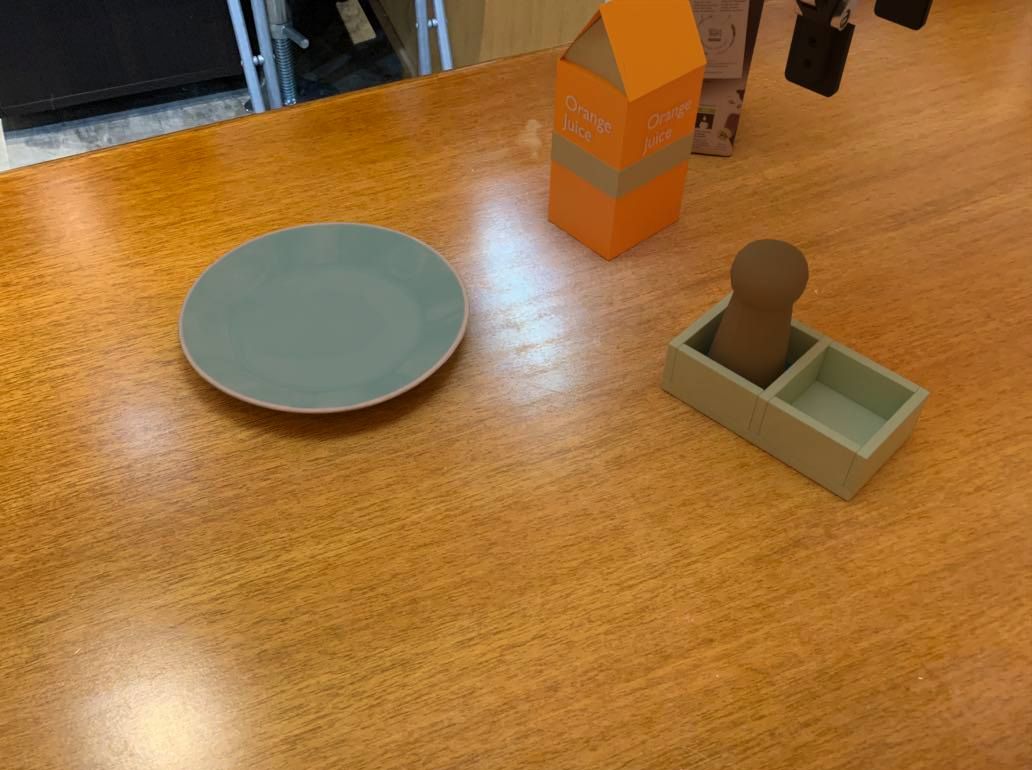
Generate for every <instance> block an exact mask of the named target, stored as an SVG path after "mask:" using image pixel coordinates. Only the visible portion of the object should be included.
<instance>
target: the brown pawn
mask: <svg viewBox="0 0 1032 770" xmlns="http://www.w3.org/2000/svg"><path fill="white" fill-rule="evenodd" d="M809 271H810V270H809V263H808V261H807V259H806V257H805V255H804V254H803V252H802V251H801V250H800V249H799V248H797V247H796V246H795V245H793V244H791V243H789V242H786V241H783V240H779V239H775V238H774V239H772V238H763V239H757V240H754V241H751V242H749V243H747V244H746V245H745V246H744V247H742V249H740V250H739V251H737V253H736V256H734V260H733V262H732V263H731V266H730V271H729V273H730V275H729V276H730V286H731V289H732V291H734V292H733V294H732V296H731V299H730V301H729V304H728V306H727V309H726V311H725V314H724V316H723V319H722V321H721V323H720V326H719V328H718V331H717V333H716V336H715V338H714V341H713V343H712V345H711V348H710V350H709V353H708V355H707V357H708V358H710V359H712V360H713V361H715V362H717V363H718V364H720V365H722V366H724V367H725V368H727V369H729V370H730V371H732V372H734V373H736V374H737V375H739V376H741V377H743V378H744V379H746V380H748V381H749V382H751V383H753V384H755V385H756V386H758V387H760V388H761V389H763V390H764V391H765V390H766V389H767V388H768V387H769V386H770V385H771V384H772V383H773V382H774V381H776V380H777V379H778V378H779V377H780V376H781V375H782V374H783V373H784V372H785V367H786V359H787V351H788V342H789V334H790V326H791V318H792V317H793V308H794V304H795V303H796V302H797V301H798V300H799V299H800V298H801V296H802V295H803V294H804V292H805V290H806V287H807V284H808V281H809V279H810V278H809V277H810V276H809V274H810V272H809Z"/></svg>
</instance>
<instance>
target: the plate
mask: <svg viewBox="0 0 1032 770" xmlns="http://www.w3.org/2000/svg"><path fill="white" fill-rule="evenodd" d="M470 309H471V308H470V299H469V293H468V291H467V288H466V284H465V282H464V280H463V278H462V277H461V275H460V273H459V272H458V271H457V269H456V268H455V267H454V265H453V264H452V262H450V261H449V259H447V258H446V257H445V256H444V255H443V254H442V253H440V252H439V251H438V250H437V249H436V248H434V247H433V246H431V245H430V244H428V243H426V242H424V241H423V240H421V239H418V238H417V237H414V236H412V235H410V234H408V233H405V232H402V231H399V230H396V229H393V228H389V227H385V226H381V225H376V224H371V223H370V224H369V223H360V222H350V221H348V222H347V221H346V222H345V221H328V222H327V221H326V222H314V223H306V224H301V225H294V226H290V227H285V228H280V229H278V230H274V231H270V232H267V233H264V234H261V235H259V236H256V237H253V238H252V239H249V240H247V241H245V242H243V243H241V244H239V245H237V246H235V247H233V248H232V249H229V250H228V251H226V252H225V253H223V254H222V255H221V256H219V257H218V258H217V259H215V260H214V261H213V262H212V263H211V264H209V265H208V266H207V267H206V268H205V269H204V270H203V271H202V273H200V275H198V277H197V278H196V280H195V281H194V282H193V283H192V285H191V286H190V288H189V289H188V291H187V293H186V295H185V297H184V299H183V302H182V303H181V307H180V311H179V315H178V321H177V322H178V324H177V333H178V340H179V344H180V347H181V350H182V352H183V354H184V356H185V358H186V360H187V362H188V363H189V364H190V366H191V367H192V368H193V370H194V371H195V373H197V374H198V375H199V376H200V377H201V378H202V379H203V380H204V381H206V383H208V384H210V385H211V386H212V387H214V388H216V389H217V390H219V391H220V392H221V393H224V394H226V395H228V396H230V397H233V398H235V399H237V400H239V401H243V402H244V403H248V404H251V405H254V406H257V407H261V408H266V409H270V410H274V411H281V412H287V413H296V414H334V413H343V412H350V411H356V410H360V409H364V408H368V407H372V406H376V405H379V404H381V403H384V402H387V401H389V400H391V399H393V398H396V397H399V396H400V395H402V394H404V393H406V392H408V391H410V390H412V389H413V388H415V387H416V386H418V385H420V384H421V383H423V382H424V381H425V380H427V379H428V378H429V377H430V376H432V375H433V374H434V373H436V372H437V371H438V370H439V369H440V368H441V367H442V366H443V365H444V364H445V363H446V362H447V361H448V360H449V358H450V357H452V355H453V353H454V352H455V351H456V349H457V348H458V346H459V345H460V343H461V342H462V340H463V338H464V336H465V334H466V331H467V327H468V324H469V319H470Z"/></svg>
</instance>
